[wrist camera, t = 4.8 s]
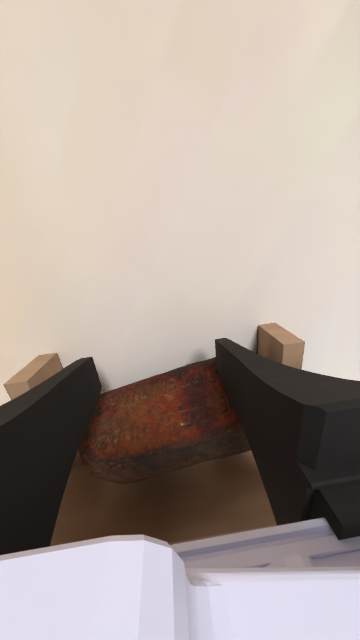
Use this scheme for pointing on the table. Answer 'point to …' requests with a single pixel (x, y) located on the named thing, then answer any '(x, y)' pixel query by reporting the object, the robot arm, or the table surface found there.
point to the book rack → (166, 479)
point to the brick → (162, 425)
